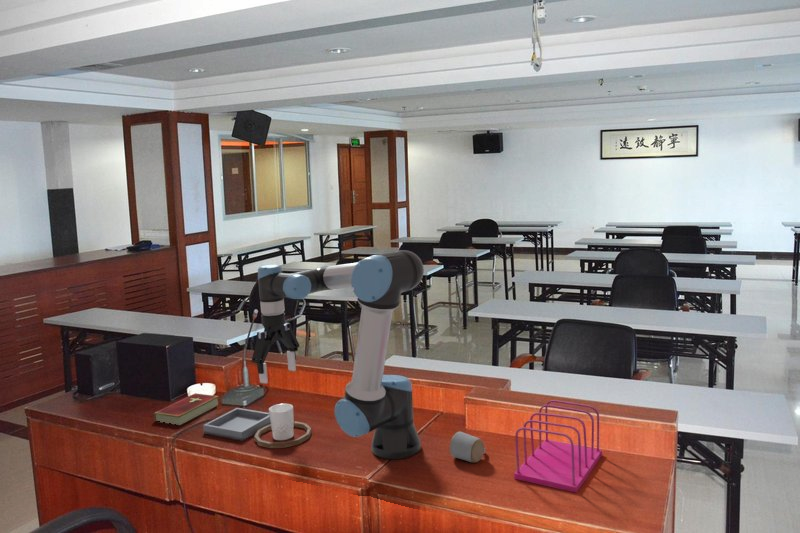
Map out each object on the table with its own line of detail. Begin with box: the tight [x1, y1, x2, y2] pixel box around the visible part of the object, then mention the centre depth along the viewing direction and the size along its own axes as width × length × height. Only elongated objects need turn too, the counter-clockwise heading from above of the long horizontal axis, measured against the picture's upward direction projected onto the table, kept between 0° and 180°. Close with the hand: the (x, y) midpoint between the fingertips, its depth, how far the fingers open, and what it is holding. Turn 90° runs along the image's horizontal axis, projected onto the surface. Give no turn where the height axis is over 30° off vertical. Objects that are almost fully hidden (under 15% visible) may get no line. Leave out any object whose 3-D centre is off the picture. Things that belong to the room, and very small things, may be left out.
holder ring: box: [253, 420, 312, 449], centre depth 218 cm, size 18×18×2 cm
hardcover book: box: [153, 392, 219, 426], centre depth 245 cm, size 12×21×4 cm, turn 155°
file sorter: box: [513, 399, 603, 493], centre depth 186 cm, size 17×25×16 cm
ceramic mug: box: [449, 431, 486, 464], centre depth 195 cm, size 11×8×8 cm
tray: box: [202, 407, 271, 442], centre depth 228 cm, size 17×17×3 cm
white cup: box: [268, 403, 295, 441], centre depth 218 cm, size 8×8×10 cm
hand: (278, 376), depth 216 cm, fingers open, 13 cm apart
